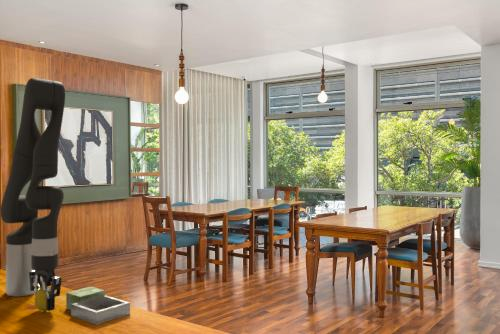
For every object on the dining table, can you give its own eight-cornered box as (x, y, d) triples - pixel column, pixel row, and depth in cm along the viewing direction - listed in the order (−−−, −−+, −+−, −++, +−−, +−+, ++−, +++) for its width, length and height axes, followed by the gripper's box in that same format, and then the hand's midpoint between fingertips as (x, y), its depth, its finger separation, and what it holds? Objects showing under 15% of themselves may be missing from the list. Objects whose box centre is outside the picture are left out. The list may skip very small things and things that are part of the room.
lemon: (47, 315, 151) (47, 289, 150) (30, 314, 152) (30, 287, 152) (58, 310, 156) (58, 284, 156) (42, 308, 157) (41, 282, 157)
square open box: (57, 311, 155) (57, 294, 155) (91, 301, 165) (91, 286, 165) (96, 324, 144) (96, 307, 144) (129, 314, 153) (130, 297, 153)
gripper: (20, 251, 155) (20, 306, 155) (46, 257, 146) (46, 316, 147) (43, 247, 161) (43, 300, 161) (70, 253, 152) (69, 309, 153)
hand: (44, 307), depth 154 cm, fingers closed on lemon, 5 cm apart
